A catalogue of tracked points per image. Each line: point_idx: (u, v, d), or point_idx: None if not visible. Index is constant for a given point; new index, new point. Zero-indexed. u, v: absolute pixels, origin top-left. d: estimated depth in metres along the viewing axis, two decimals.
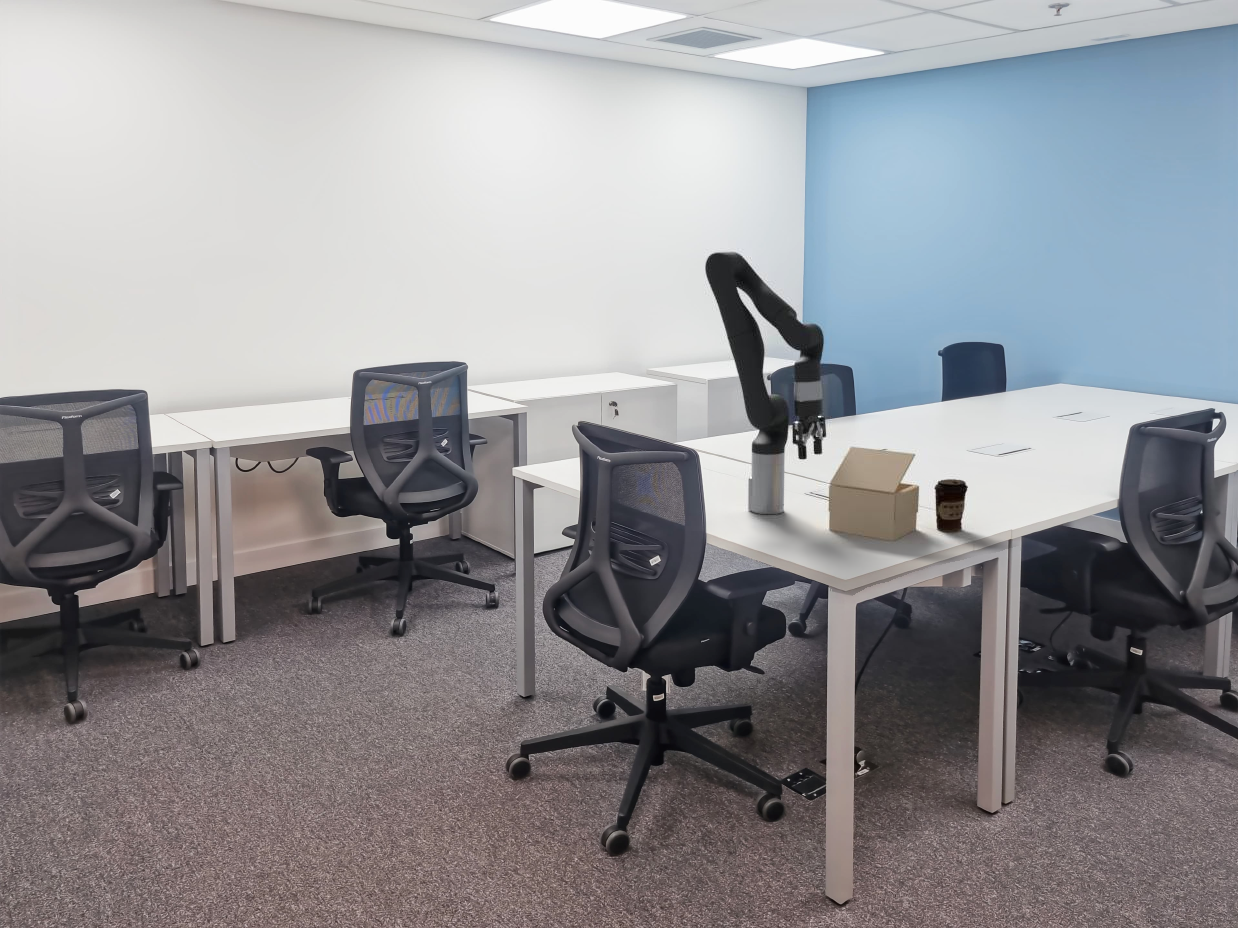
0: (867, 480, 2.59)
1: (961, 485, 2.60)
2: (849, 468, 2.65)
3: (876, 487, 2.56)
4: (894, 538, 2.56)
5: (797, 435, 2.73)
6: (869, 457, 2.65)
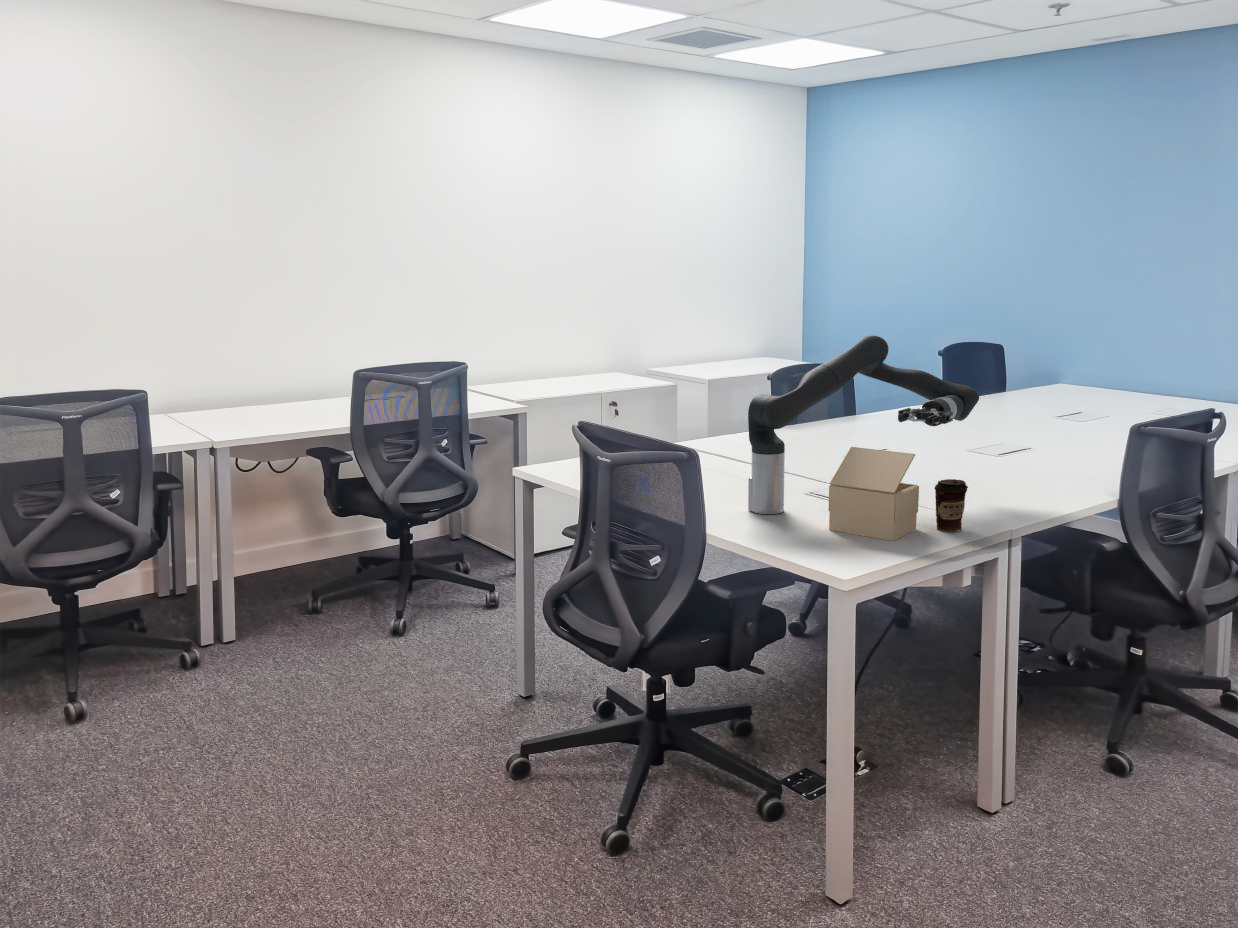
0: (867, 480, 2.59)
1: (961, 485, 2.60)
2: (849, 468, 2.65)
3: (876, 487, 2.56)
4: (894, 538, 2.56)
5: (937, 412, 2.79)
6: (869, 457, 2.65)
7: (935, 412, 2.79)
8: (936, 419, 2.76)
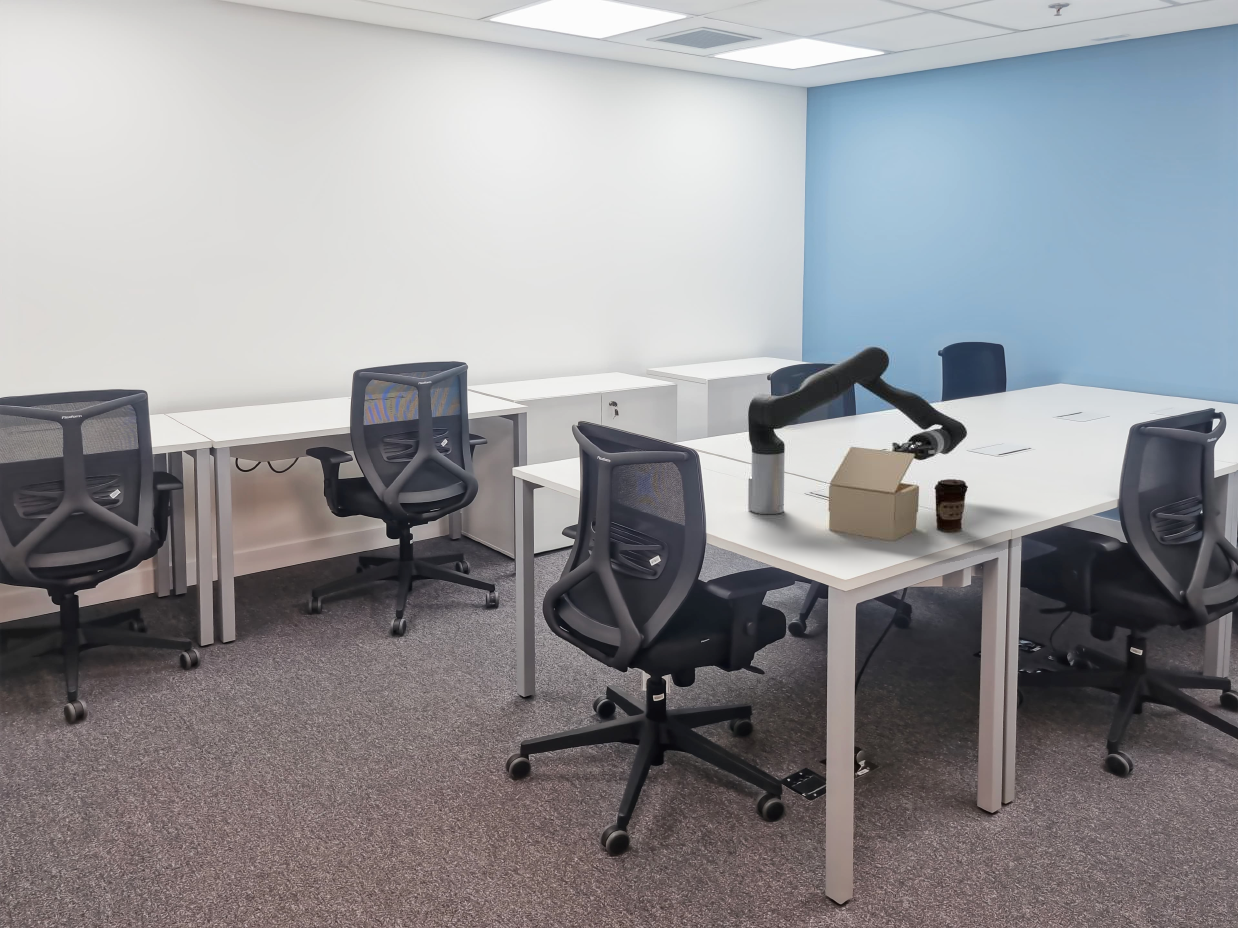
0: (867, 480, 2.59)
1: (961, 485, 2.60)
2: (849, 468, 2.65)
3: (876, 487, 2.56)
4: (894, 538, 2.56)
5: (915, 446, 2.77)
6: (869, 457, 2.65)
7: (912, 445, 2.77)
8: (908, 452, 2.75)
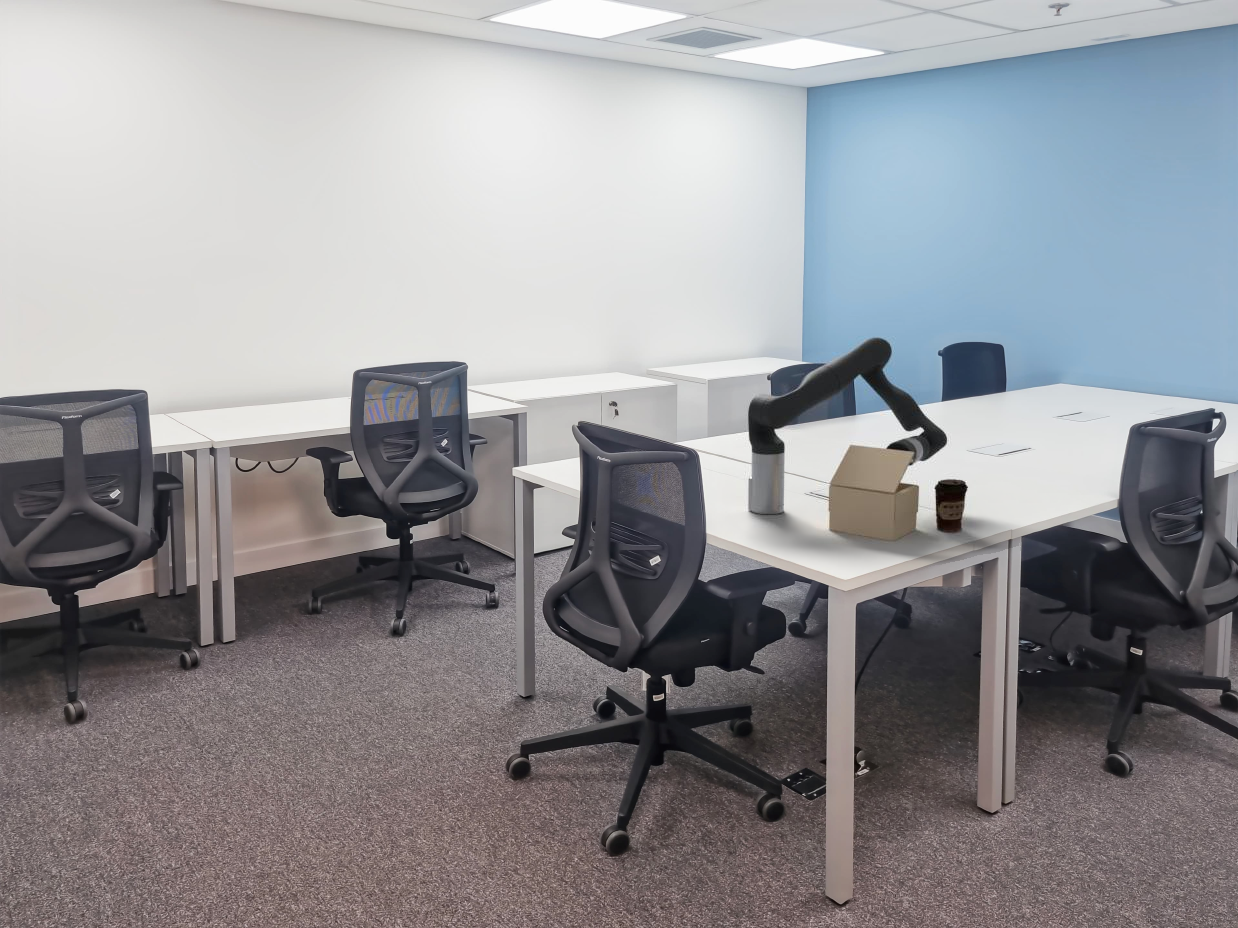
0: (867, 480, 2.59)
1: (961, 485, 2.60)
2: (849, 467, 2.65)
3: (876, 487, 2.56)
4: (894, 538, 2.56)
5: None
6: (868, 456, 2.65)
7: None
8: None
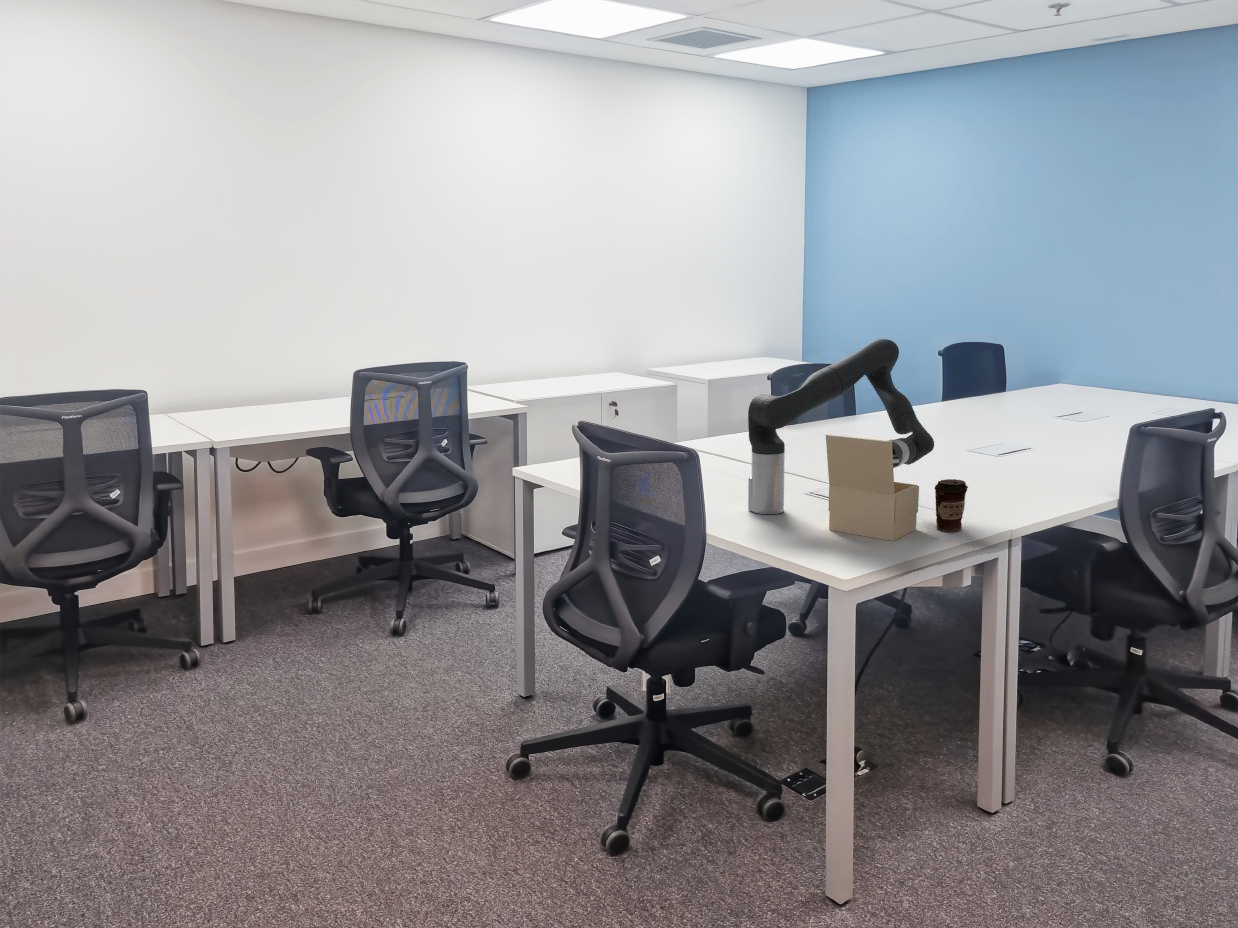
0: (862, 480, 2.57)
1: (961, 485, 2.60)
2: (838, 465, 2.60)
3: (874, 489, 2.55)
4: (894, 538, 2.56)
5: None
6: (850, 449, 2.56)
7: None
8: None
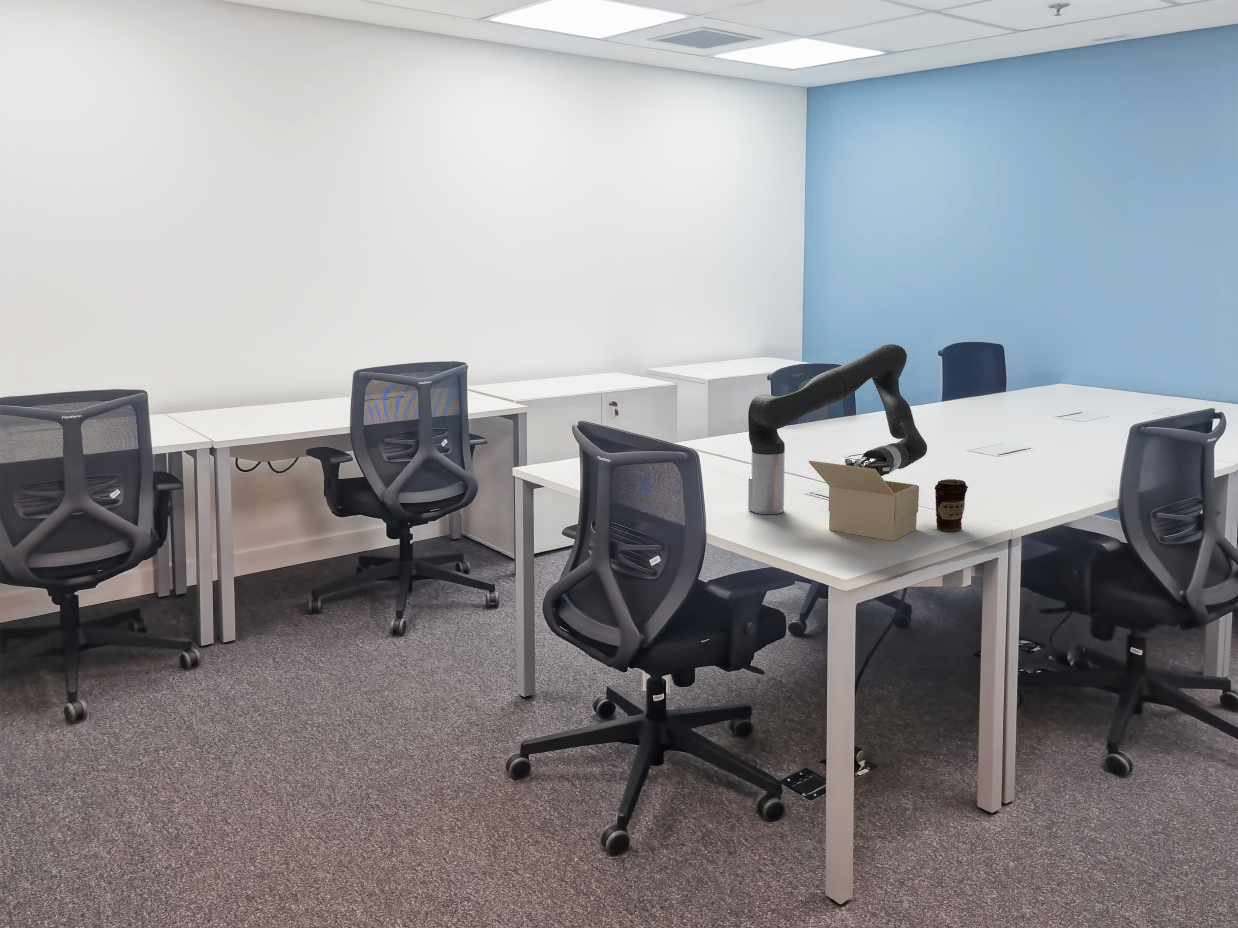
0: (859, 486, 2.56)
1: (961, 485, 2.60)
2: (831, 477, 2.58)
3: (873, 491, 2.55)
4: (894, 538, 2.56)
5: (868, 462, 2.56)
6: (837, 470, 2.52)
7: (865, 462, 2.56)
8: None
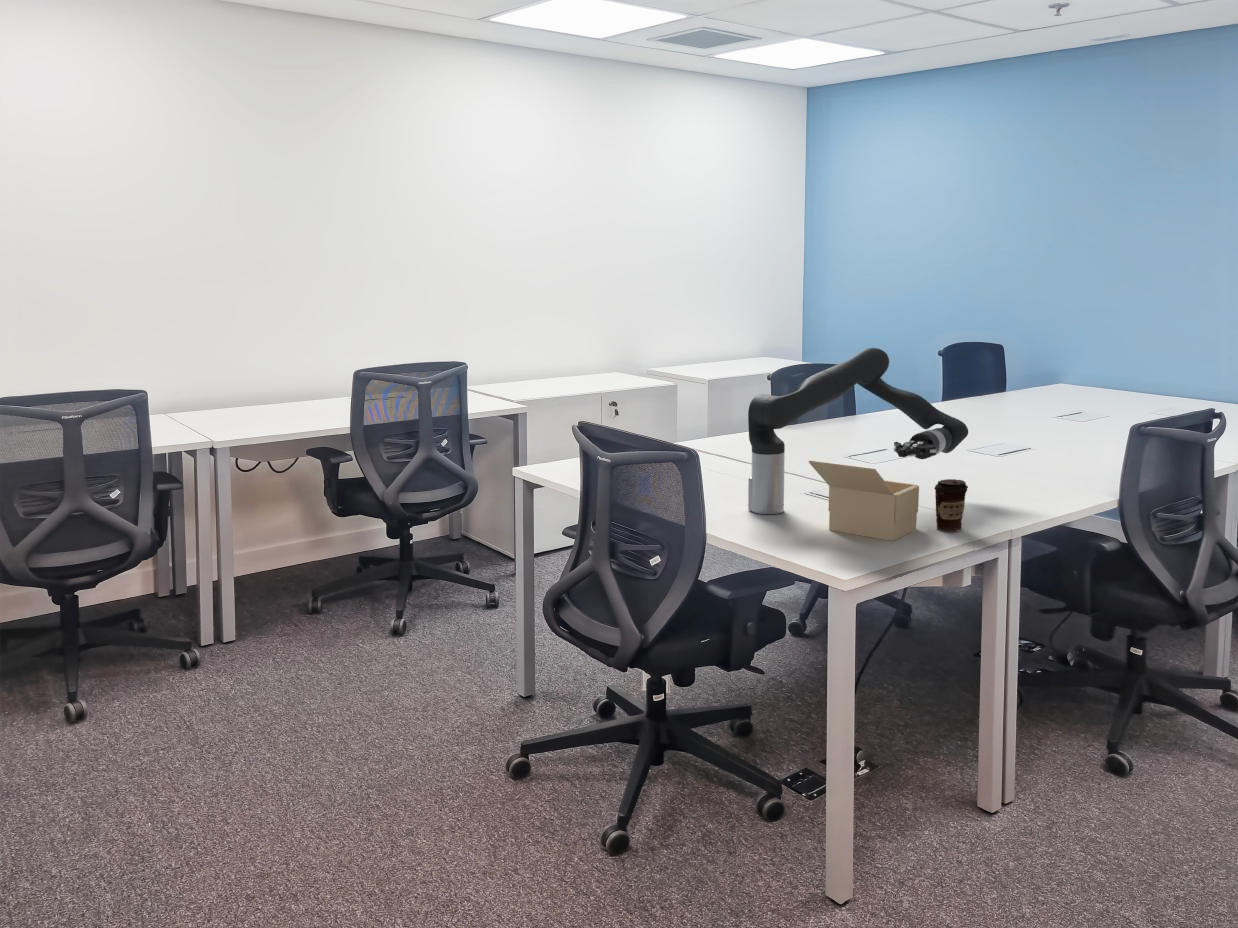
0: (859, 486, 2.56)
1: (961, 485, 2.60)
2: (831, 477, 2.58)
3: (873, 491, 2.55)
4: (894, 538, 2.56)
5: (916, 445, 2.78)
6: (837, 471, 2.52)
7: (914, 445, 2.78)
8: (910, 452, 2.76)
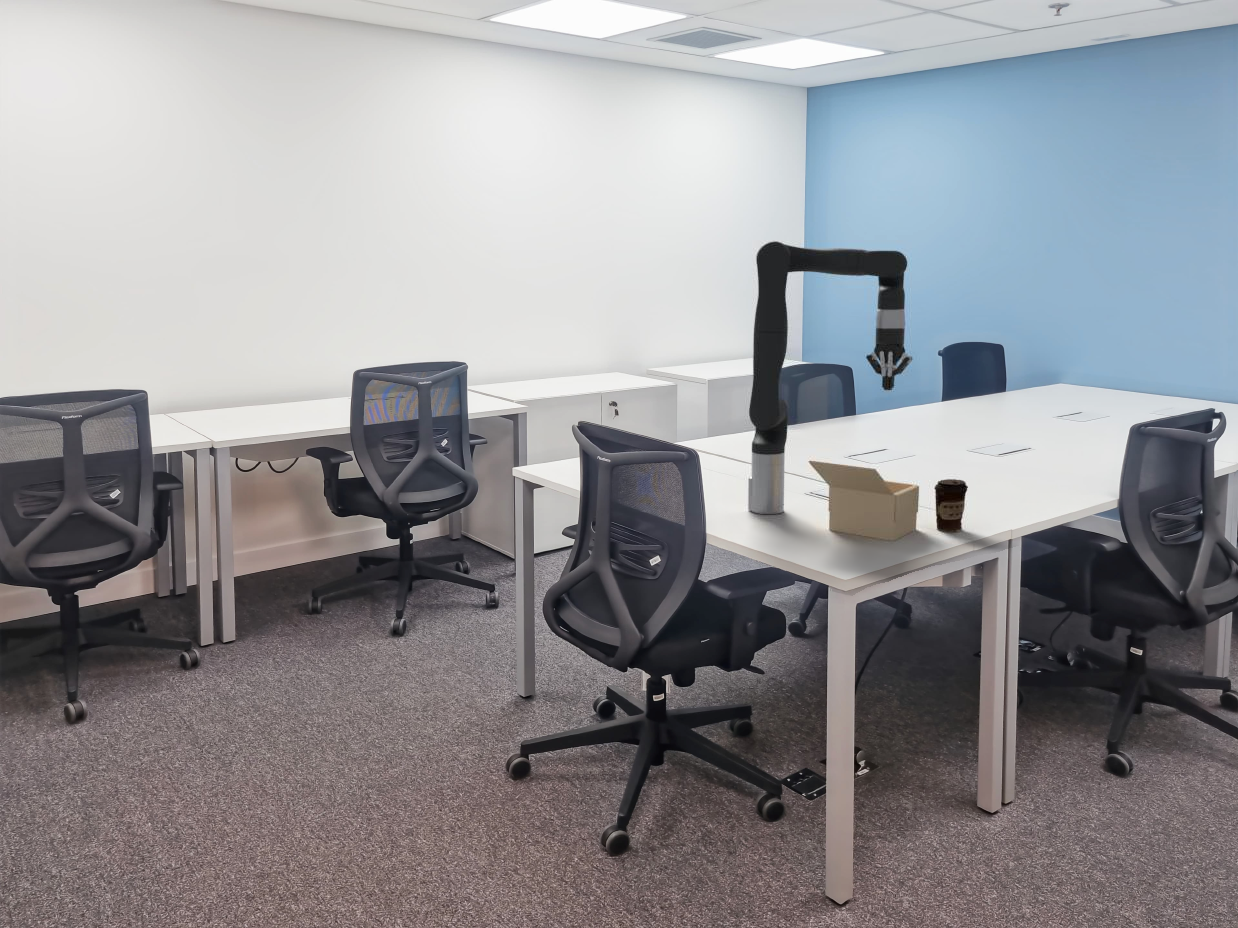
0: (859, 486, 2.56)
1: (961, 485, 2.60)
2: (831, 477, 2.58)
3: (873, 491, 2.55)
4: (894, 538, 2.56)
5: (891, 367, 2.72)
6: (837, 471, 2.52)
7: (889, 367, 2.72)
8: (892, 380, 2.73)
